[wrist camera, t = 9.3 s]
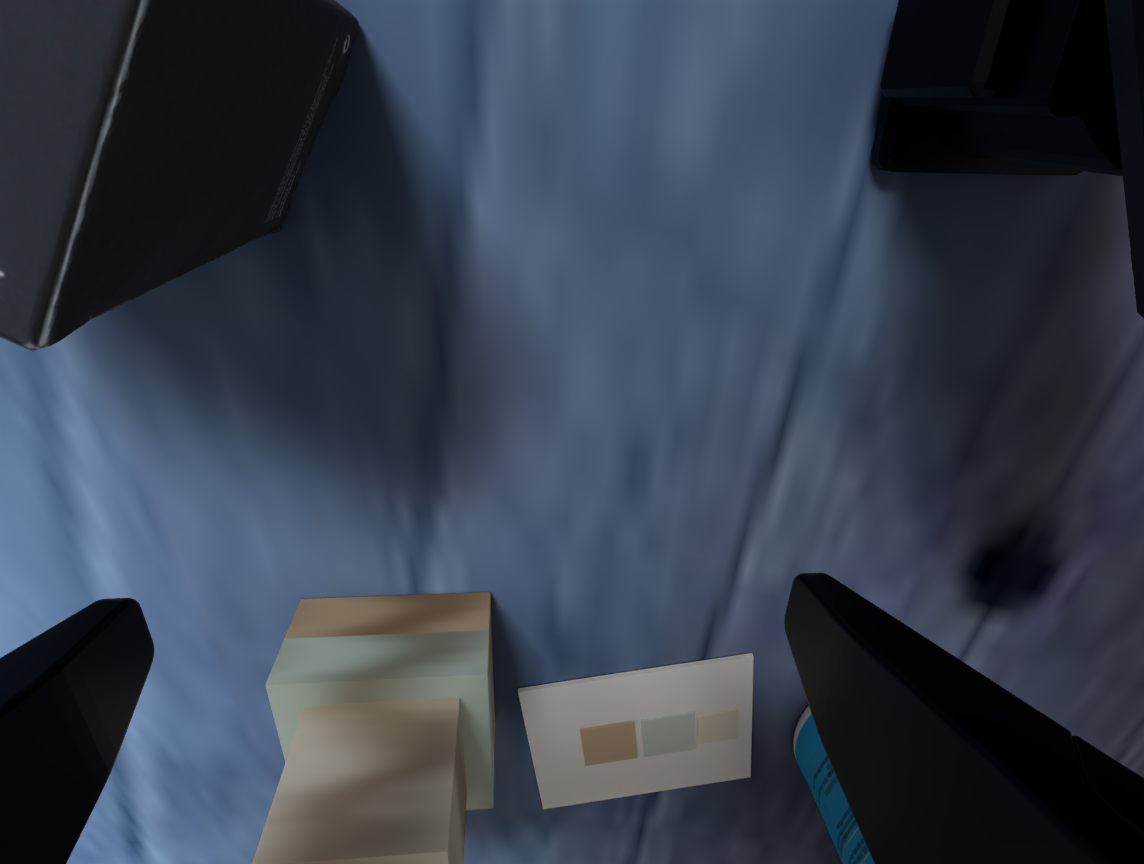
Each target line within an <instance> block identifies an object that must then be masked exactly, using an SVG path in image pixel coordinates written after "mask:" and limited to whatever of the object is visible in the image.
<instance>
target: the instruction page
mask: <svg viewBox="0 0 1144 864" xmlns="http://www.w3.org/2000/svg"><path fill="white" fill-rule="evenodd" d="M753 661H754V656H753V654H752V653H748V654H742V655H735V656H729V657H722V658H715V659H709V660H702V661H695V662H689V663H682V664H676V665H669V666H662V667H656V668H649V669H643V670H636V671H629V672H623V673H616V674H609V675H603V676H596V677H590V678H583V679H576V680H570V681H563V682H556V683H550V684H543V685H537V686H530V687H523V688H518V695H519V700H520V704H521V709H522V714H523V718H524V723H525V727H526V732H527V737H528V741H529V746H530V751H531V755H532V760H533V765H534V769H535V774H536V778H537V783H538V788H539V792H540V797H541V802H542V806H543V809H550V808H556V807H563V806H569V805H575V804H582V803H588V802H595V801H601V800H607V799H614V798H620V797H627V796H633V795H639V794H646V793H652V792H659V791H665V790H671V789H678V788H684V787H691V786H697V785H703V784H710V783H716V782H723V781H729V780H735V779H742V778H748V777H751V743H752V702H753Z"/></svg>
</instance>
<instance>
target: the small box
mask: <svg viewBox="0 0 1144 864" xmlns="http://www.w3.org/2000/svg"><path fill="white" fill-rule="evenodd" d="M357 32H358V21H357V19H356V18H355V17H354V16H353V15H352V14H351V13H350V12H349V11H347V10H346V9H345V8H344V7H343V6H341V5H340V4H339V3H338V2H336V1H335V0H0V337H1V338H3V339H6V340H8V341H10V342H12V343H15V344H17V345H19V346H21V347H23V348H26V349H30V350H36V349H40V348H44V347H49V346H51V345H53V344H55V343H57V342H59V341H60V340H62V339H63V338H65V337H66V336H68V335H69V334H70V333H72V332H73V331H75V330H76V329H77V328H79V327H81V326H82V325H84V324H85V323H86V322H87V321H89V320H91V319H92V318H94V317H96V316H99V315H101V314H103V313H105V312H107V311H110V310H112V309H114V308H116V307H118V306H120V305H122V304H124V303H126V302H128V301H130V300H133V299H135V298H137V297H138V296H140V295H143V294H145V293H146V292H148V291H150V290H151V289H153V288H156V287H158V286H161V285H163V284H165V283H167V282H168V281H170V280H172V279H175V278H177V277H180V276H181V275H183V274H185V273H187V272H189V271H191V270H193V269H195V268H197V267H199V266H202V265H204V264H206V263H207V262H209V261H212V260H214V259H216V258H219V257H220V256H222V255H224V254H227V253H229V252H231V251H233V250H235V249H236V248H237V247H240V246H242V245H244V244H246V243H248V242H250V241H253V240H255V239H257V238H260V237H262V236H266V235H270V234H272V233H275V232H280V231H281V230H282V225H281V224H282V223H283V222H284V221H285V219H286V217H287V213H288V209H289V201H290V197H291V194H292V193H293V191H294V190H296V189H297V187H298V178H299V176H300V175H301V172H302V169H303V166H304V164H305V160H306V157H307V156H308V155H309V154H310V148H311V145H312V143H313V142H314V139H315V136H316V133H317V131H318V129H319V128H320V127H321V126H322V123H323V118H324V115H325V112H326V110H327V108H328V106H329V103H330V100H331V98H332V97H334V96H335V95H336V94H337V92H338V90H339V84H340V83H341V81H342V77H343V73H344V71H345V69H346V65H347V61H348V58H349V55H350V49H351V46H352V44H353V42H354V39H355V37H356V35H357Z"/></svg>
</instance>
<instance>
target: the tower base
mask: <svg viewBox="0 0 1144 864" xmlns="http://www.w3.org/2000/svg"><path fill="white" fill-rule="evenodd" d="M265 686H266V689H267V693H268V697H269V701H270V705H271V709H272V712H273V716H274V720H275V724H276V728H277V732H278V735H279V739H280V743H281V747H282V751H283V755H284V758H285V762H286V760H287V757H288V754H289V751H290V748H291V745H292V742H293V739H294V736H295V733H296V730H297V727H298V724H299V721H300V718H301V715H302V712H303V709H304V706H311V705H330V704H348V703H367V702H385V701H403V700H422V699H440V698H459V697H460V709H461V722H462V735H463V748H464V761H465V774H466V787H467V802H466V810H479V809H493V802H494V751H495V702H494V675H493V649H492V623H491V596H490V592H479V593H453V594H426V595H399V596H373V597H346V598H320V599H301V600H300V602H299V605H298V607H297V610H296V612H295V614H294V617H293V619H292V622H291V624H290V627H289V629H288V631H287V634H286V636H285V639H284V641H283V644H282V646H281V648H280V651H279V653H278V656H277V658H276V661H275V663H274V665H273V668H272V670H271V673H270V675H269V678H268V680H267V683H266V685H265Z"/></svg>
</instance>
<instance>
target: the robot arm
mask: <svg viewBox="0 0 1144 864" xmlns="http://www.w3.org/2000/svg"><path fill="white" fill-rule="evenodd" d="M881 89H882V91H883V94H884V97H883V102H882V107H881V111H880V116H879V120H878V125H877V130H876V134H875V139H874V143H873V148H872V161H873V164H874V165H875V166H876V167H877V168H878V169H881V170H885V171H890V172H927V173H973V174H1019V175H1065V176H1072V175H1077V174H1079V173H1081V172H1083V171H1087V172H1095V173H1103V174H1111V175H1118V176H1123V181H1124V191H1125V200H1126V210H1127V219H1128V229H1129V238H1130V248H1131V261H1132V271H1133V276H1134V286H1135V295H1136V305H1137V312H1138V313H1139V314H1140V315H1141V316H1142V317H1143V318H1144V0H899V2H898V7H897V11H896V16H895V21H894V25H893V30H892V35H891V39H890V44H889V49H888V53H887V58H886V63H885V67H884V72H883V77H882V81H881ZM894 143H895V144H896V146H897V153H896V155H895V157H894V158H893V159H892V160H890V161H889V160H888V158H887V151H888V149H889V147H890V146H891V145H893V144H894ZM785 631H786V635H787V638H788V641H789V644H790V648H791V651H792V654H793V657H794V660H795V663H796V667H797V670H798V673H799V676H800V679H801V683H802V686H803V689H804V692H805V695H806V698H807V702H808V705H809V708H810V711H811V714H812V717H813V720H814V723H815V726H816V729H817V732H818V734H819V737H820V739H821V742H822V744H823V747H824V749H825V751H826V754H827V756H828V758H829V760H830V763H831V765H832V767H833V770H834V772H835V774H836V777H837V779H838V781H839V783H840V786H841V788H842V790H843V793H844V795H845V797H846V799H847V802H848V804H849V806H850V809H851V811H852V813H853V815H854V818H855V820H856V822H857V825H858V827H859V829H860V831H861V834H862V836H863V838H864V841H865V843H866V845H867V848H868V850H869V852H870V854H871V857H872V859H873V861H874V864H1144V778H1143V777H1141V776H1139V775H1138V774H1136V773H1135V772H1133V771H1131V770H1130V769H1128V768H1127V767H1125V766H1124V765H1122V764H1120V763H1119V762H1117V761H1116V760H1114V759H1112V758H1111V757H1109V756H1108V755H1106V754H1105V753H1103V752H1101V751H1100V750H1098V749H1097V748H1095V747H1094V746H1092V745H1091V744H1089V743H1088V742H1086V741H1085V740H1083V739H1081V738H1080V737H1078V736H1072V735H1071V733H1070V731H1069V730H1067V729H1066V728H1064V727H1063V726H1061V725H1060V724H1058V723H1056V722H1055V721H1053V720H1052V719H1050V718H1049V717H1047V716H1046V715H1044V714H1043V713H1041V712H1039V711H1038V710H1036V709H1035V708H1033V707H1032V706H1030V705H1029V704H1027V703H1026V702H1024V701H1022V700H1021V699H1019V698H1018V697H1016V696H1015V695H1013V694H1012V693H1010V692H1009V691H1007V690H1005V689H1004V688H1002V687H1001V686H999V685H998V684H996V683H995V682H993V681H992V680H990V679H988V678H987V677H985V676H984V675H982V674H981V673H979V672H978V671H976V670H975V669H973V668H971V667H970V666H968V665H967V664H965V663H964V662H962V661H961V660H959V659H958V658H956V657H955V656H953V655H951V654H950V653H948V652H947V651H945V650H944V649H942V648H941V647H939V646H938V645H936V644H934V643H933V642H931V641H930V640H928V639H927V638H925V637H924V636H922V635H921V634H919V633H917V632H916V631H914V630H913V629H911V628H910V627H908V626H907V625H905V624H904V623H902V622H900V621H899V620H897V619H896V618H894V617H893V616H891V615H890V614H888V613H887V612H885V611H883V610H882V609H880V608H879V607H877V606H876V605H874V604H873V603H871V602H870V601H868V600H866V599H865V598H863V597H862V596H860V595H859V594H857V593H856V592H854V591H853V590H851V589H849V588H848V587H846V586H845V585H843V584H842V583H840V582H839V581H837V580H836V579H834V578H832V577H831V576H829V575H827V574H825V573H802V574H799V575H797V576H796V577H795V578H794V581H793V584H792V588H791V592H790V597H789V601H788V605H787V610H786V614H785ZM153 657H154V644H153V640H152V637H151V635H150V632H149V629H148V626H147V623H146V621H145V618H144V615H143V612H142V609H141V607H140V605H139V603H138V602H137V601H136V600H134V599H131V598H115V599H102V600H98V601H96V602H94V603H92V604H91V605H89V606H87V607H86V608H84V609H82V610H81V611H79V612H77V613H76V614H74V615H72V616H70V617H69V618H67V619H65V620H64V621H62V622H60V623H59V624H57V625H55V626H54V627H52V628H50V629H49V630H47V631H45V632H44V633H42V634H40V635H39V636H37V637H35V638H33V639H32V640H30V641H28V642H27V643H25V644H23V645H22V646H20V647H18V648H17V649H15V650H13V651H12V652H10V653H8V654H7V655H5V656H3V657H1V658H0V864H66V863H67V861H68V859H69V857H70V855H71V853H72V851H73V849H74V847H75V845H76V843H77V841H78V839H79V837H80V835H81V833H82V831H83V829H84V827H85V825H86V823H87V821H88V819H89V817H90V815H91V812H92V810H93V808H94V806H95V804H96V802H97V800H98V798H99V796H100V794H101V792H102V790H103V788H104V786H105V784H106V782H107V779H108V777H109V775H110V773H111V770H112V768H113V765H114V763H115V761H116V758H117V756H118V753H119V750H120V748H121V745H122V742H123V740H124V737H125V734H126V732H127V729H128V726H129V724H130V721H131V718H132V716H133V713H134V710H135V708H136V705H137V702H138V700H139V697H140V694H141V692H142V689H143V686H144V684H145V681H146V678H147V676H148V673H149V670H150V667H151V665H152V662H153Z"/></svg>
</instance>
